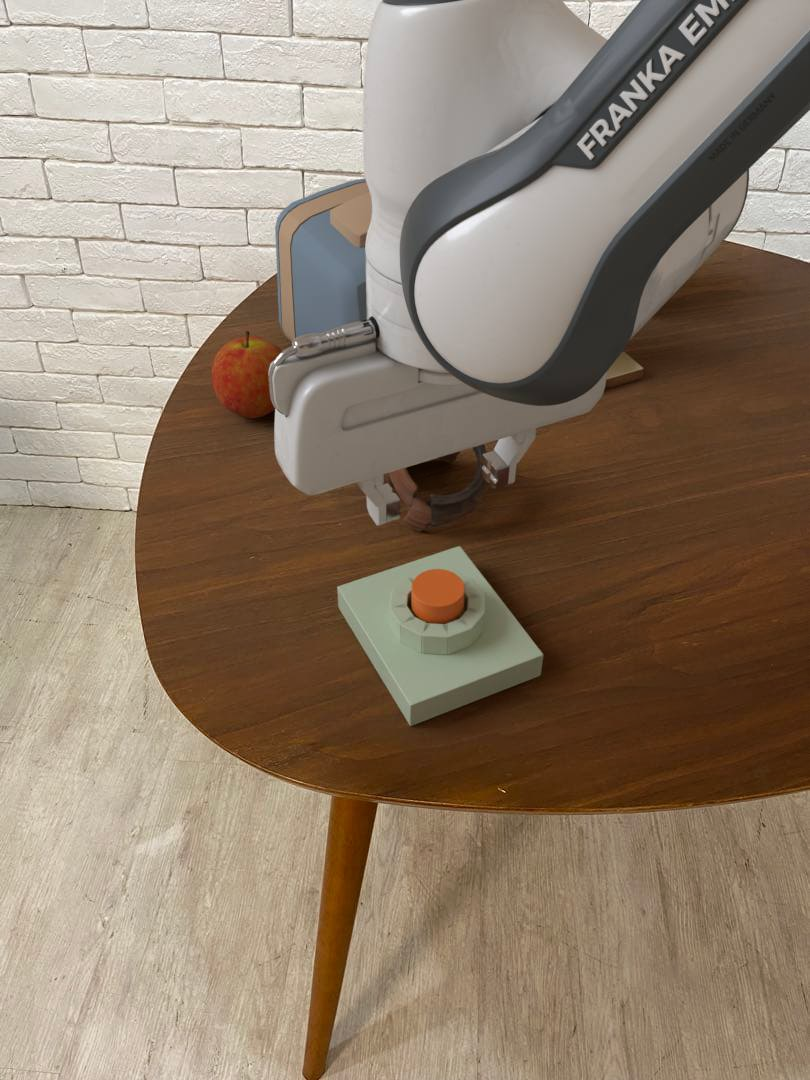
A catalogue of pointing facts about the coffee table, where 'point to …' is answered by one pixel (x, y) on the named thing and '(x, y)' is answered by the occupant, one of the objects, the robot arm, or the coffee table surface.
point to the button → (437, 596)
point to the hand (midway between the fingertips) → (441, 498)
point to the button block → (438, 639)
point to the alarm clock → (323, 259)
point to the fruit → (245, 375)
